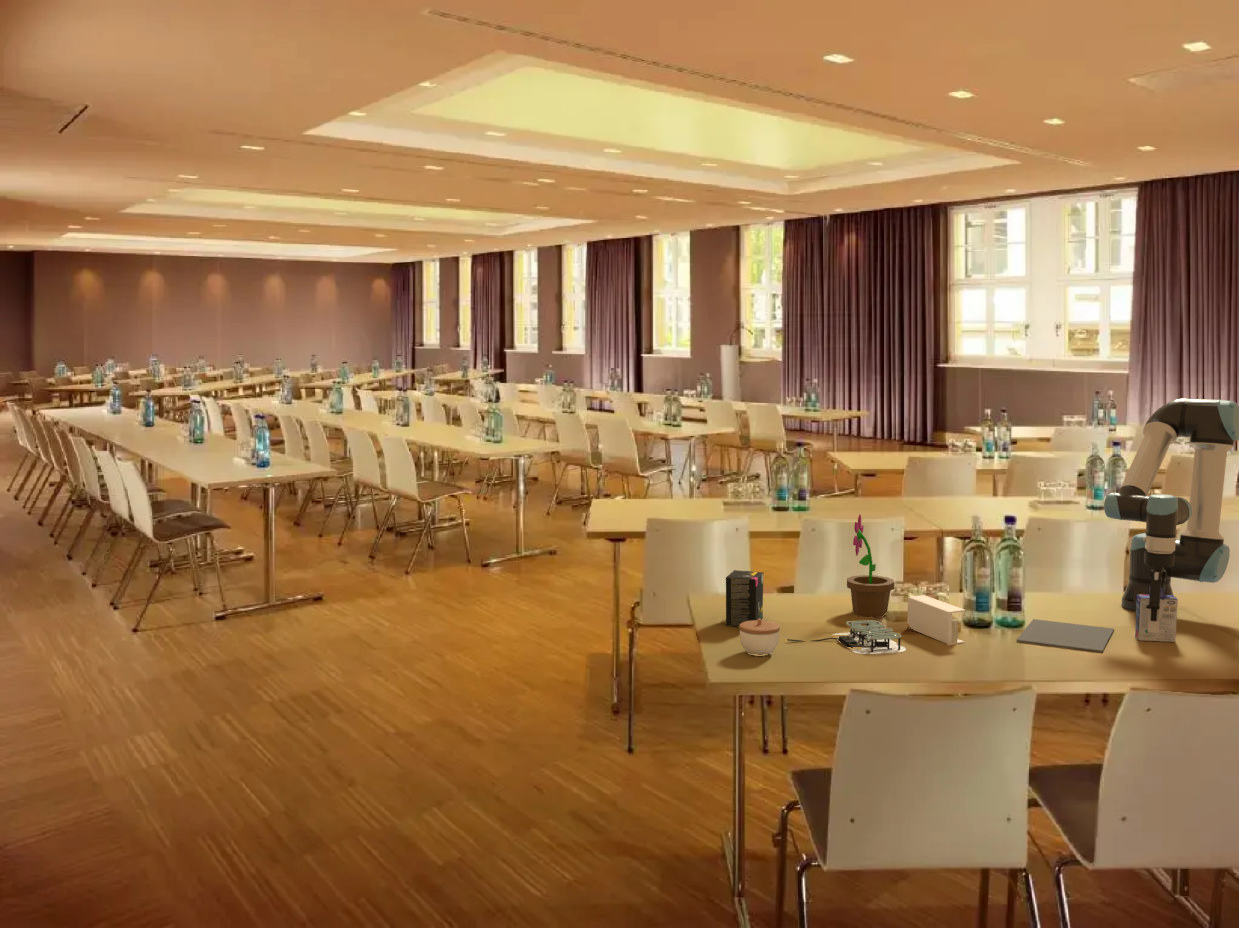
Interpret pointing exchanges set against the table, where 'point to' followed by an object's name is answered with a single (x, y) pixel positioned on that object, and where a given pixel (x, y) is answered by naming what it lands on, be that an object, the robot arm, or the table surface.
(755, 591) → the tampon box
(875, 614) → the flowerpot
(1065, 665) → the table surface
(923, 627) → the cigarette display
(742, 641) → the lidded jar
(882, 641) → the neon sign
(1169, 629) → the ink cartridge box
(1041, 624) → the mat
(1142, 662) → the table surface
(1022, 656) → the table surface
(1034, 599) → the table surface
